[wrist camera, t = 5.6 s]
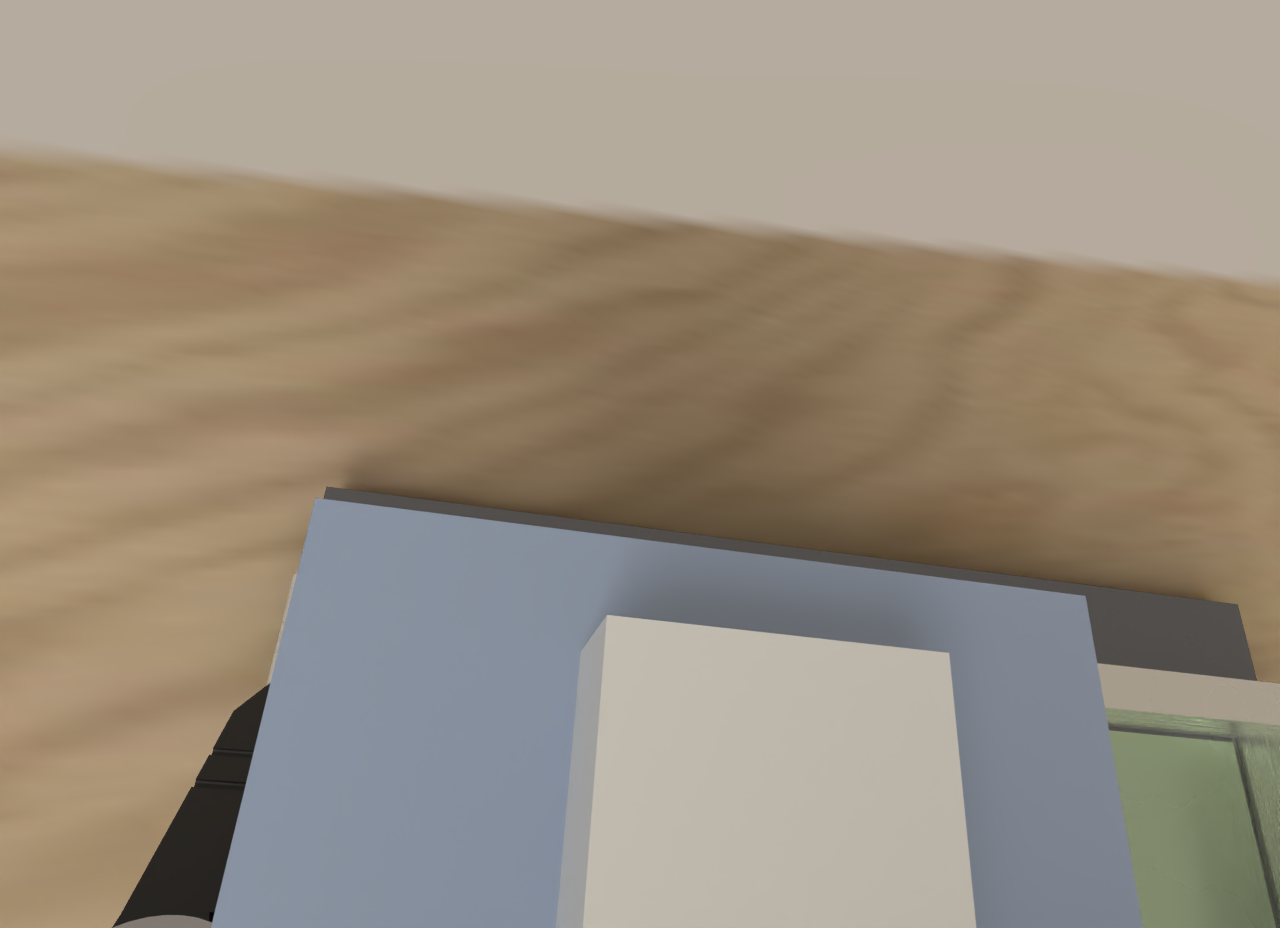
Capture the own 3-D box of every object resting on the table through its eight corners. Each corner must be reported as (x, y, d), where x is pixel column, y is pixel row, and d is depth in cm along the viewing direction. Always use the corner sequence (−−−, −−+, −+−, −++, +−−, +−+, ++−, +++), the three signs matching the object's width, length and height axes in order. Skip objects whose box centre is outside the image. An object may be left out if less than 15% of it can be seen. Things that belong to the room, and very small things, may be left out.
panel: (111, 1432, 11) (26, 1581, 8) (330, 498, 16) (312, 446, 14) (1397, 1368, 14) (1570, 1465, 12) (1215, 610, 19) (1311, 582, 17)
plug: (355, 1048, 12) (-243, 2401, 2) (408, 732, 14) (288, 431, 4) (651, 1055, 13) (1535, 2024, 2) (664, 753, 15) (1190, 556, 4)
